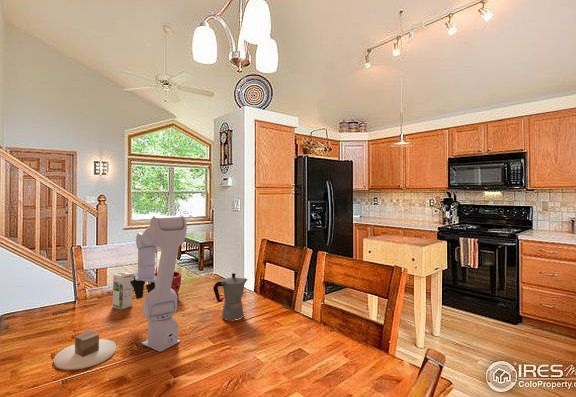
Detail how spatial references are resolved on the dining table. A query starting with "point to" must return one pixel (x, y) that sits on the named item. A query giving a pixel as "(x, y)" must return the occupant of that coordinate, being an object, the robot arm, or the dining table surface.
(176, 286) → the plant pot
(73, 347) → the white plate
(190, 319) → the dining table surface
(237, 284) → the coffeepot
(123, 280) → the syrup box
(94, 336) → the walnut block
